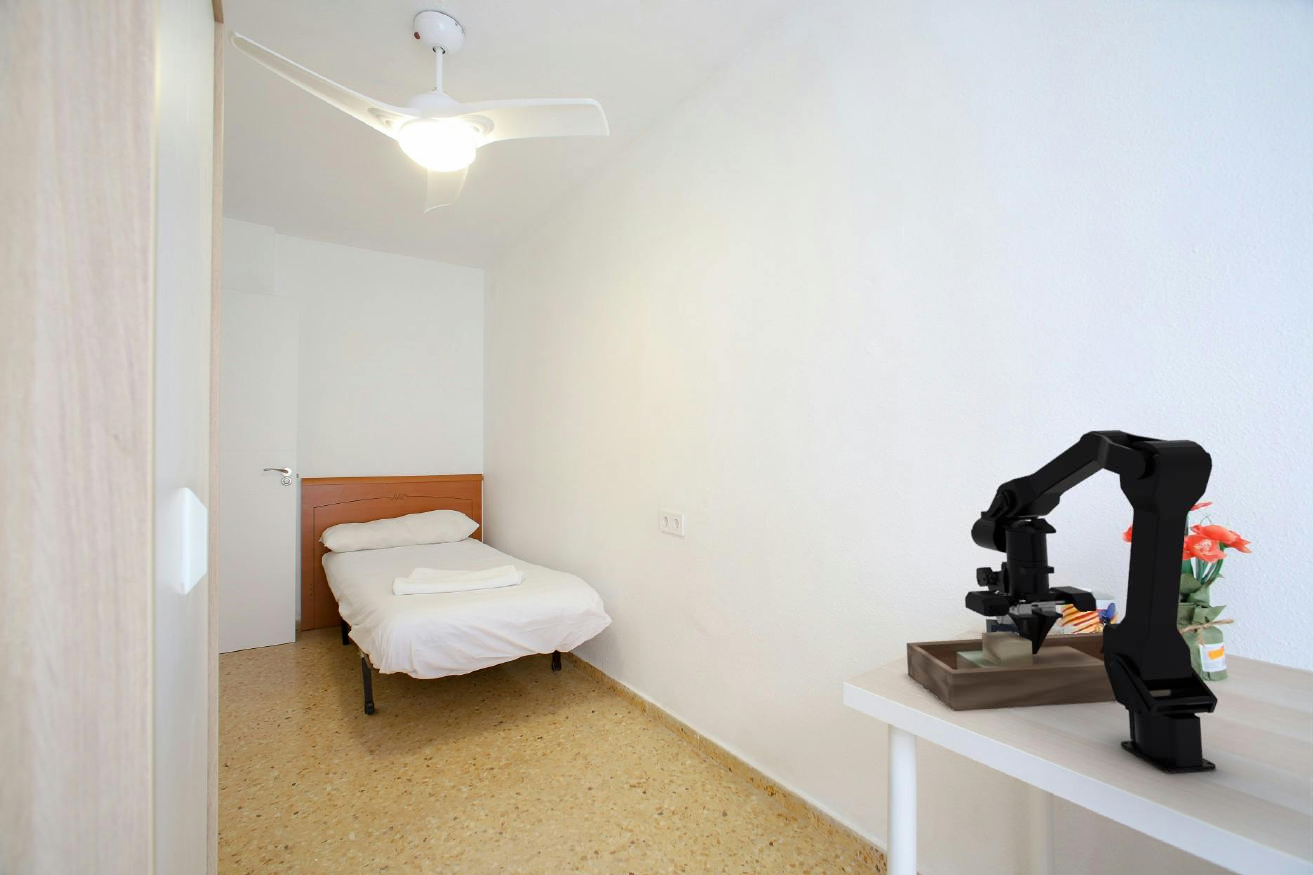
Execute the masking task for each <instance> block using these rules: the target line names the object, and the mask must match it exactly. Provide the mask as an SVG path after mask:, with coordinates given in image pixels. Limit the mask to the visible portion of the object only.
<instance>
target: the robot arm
mask: <svg viewBox="0 0 1313 875" xmlns="http://www.w3.org/2000/svg"><path fill="white" fill-rule="evenodd" d="M1212 469H1213V459H1212V456H1211V454H1210V452H1207V451H1206V450H1205V448H1204V447H1203V446H1202V445H1201V444H1199V443H1198V442H1196V441H1193V440H1189V439H1178V440H1177V439H1175V440H1174V439H1173V440H1169V439H1168V440H1167V439H1161V438H1155V437H1150V436H1149V437H1148V436H1142V435H1137V434H1133V433H1129V432H1126V431H1122V430H1120V429H1113V430H1111V429H1110V430H1109V429H1108V430H1107V429H1106V430H1090V431H1088V432H1086V433H1083V434H1082V435H1081V436H1080V438H1079V440H1078V441H1077V442H1075V443H1073V445H1071V446H1070V447H1068V448H1067V449H1065V450H1064V451H1063V452H1061V453H1060V454H1059V455H1057V456H1056V457H1054V458H1053V459H1051V460H1050V461H1049V462H1047V463H1046V464H1044V465H1043V466H1042V467H1040V468H1039V469H1038V470H1036V471H1035V472H1033V473H1030V474H1029V475H1024V476H1020V477H1016V478H1012V479H1011V480H1008V481H1005V482H1002V483H1001V484H1000V485H999V486H998V488H997V490H996V493H995V495H994V497H993V499H992V500H991V503H990V506H989V507H988V509H987V510H983V511H981V512H980V518H978V519H977V520H976V521H975V522H974V523H973V525H972V528H971V529H970V535H971V538H972V541H973V542H974V543H975V545H977V546H978V547H981V548H983V549H987V550H991V551H996V552H998V553H1004V554H1006V556H1005V557H1006V561H1001V564H1000V570H996V571H993V569H992V567H990V566H988V567H987V566H982V567H977V568H976V570H975V571H976V573H975V575H976V576H975V578H976V583H977V585H978V586H979V587H982V588H983V587H987V589H988V590H971V591H970V590H969V591H968V592H967V594H966V595H965V597H964V601H965V602H964V604H965V608H966V609H968V610H970V611H973V612H975V613H976V614H979V615H981V616H984V617H989V618H993V617H995V618H996V616H1006V615H1009V617H1010V618H1011V619H1012V620H1013V622H1014V624H1015V625H1016V627H1017V629H1018V631H1019V634H1020V636H1021V637H1023V638H1026V639H1028V640H1030V641H1032V655H1033V654H1037V653H1038V651H1039V649H1040V647H1041V645H1042V643H1043V642H1044V640H1045V638H1046V636H1047V635H1049V633H1050V631H1051V630H1052V628H1053V627H1054V625H1055V624H1056V622H1057V621H1058V619H1063V614H1062V612H1058V611H1057V606H1062V605H1070V604H1073V607H1075V608H1076V609H1077V610H1078V611H1080V612H1087V611H1096V610H1097V611H1098V606H1097V599H1096V598H1095V595H1094V594H1093V595H1092V593H1091V592H1088V591H1084V590H1081V589H1078V588H1075V587H1076V586H1072V585H1071V586H1070V585H1066V586H1064V585H1063V586H1050V576H1049V575H1050V574H1055V566H1051V565H1049V559H1048V543H1047V542H1048V541H1047V534H1049V535H1050V534H1051V535H1052V534H1056V533H1057V529H1056V528H1055V527H1054V525H1052V524H1050V523H1049V522H1048V521H1047V520H1046V518H1044V517H1045V516H1047V515H1049V514H1050V513H1051V512H1052V511H1053V510H1054V509H1055V508H1057V506H1058V505H1059V504H1060V503H1061V496H1062V495H1064V493H1066V492H1067V491H1069V490H1072V488H1074V487H1075V486H1077V485H1079V484H1080V483H1082V482H1083V481H1085V480H1087V479H1088V478H1090V477H1092V476H1093V475H1094V474H1095V475H1096V473H1098V472H1099V471H1101V470H1106V471H1107V472H1111V473H1114V474H1116V475H1118V477H1119V486H1120V491H1122V492H1123V494H1124V496H1125V498H1126V499H1127V500H1128V502H1129V504H1130V506H1131V507H1132V511H1133V514H1132V527H1131V540H1130V552H1129V563H1128V577H1127V579H1128V580H1127V588H1126V603H1125V604H1126V605H1125V614H1124V617H1123V618H1122V620H1121V621H1120V622H1119V623H1118V622H1116V623H1105V624H1104V626H1103V629H1102V632H1103V646H1102V648H1101V650H1100V653H1101V654H1104V665H1105V669H1106V671H1107V674H1108V677H1109V680H1110V683H1111V687H1112V690H1113V693H1114V696H1115V699H1116V701H1115V702H1117V703H1118V704H1120V705H1123V706H1124V709H1125V710H1126V711H1128V721H1129V722H1128V723H1129V737H1130V739H1131V740H1126V741H1125V740H1124V741H1120V746H1121V747H1122V748H1124V749H1125V750H1127V751H1128V752H1130V753H1131V754H1134V755H1135V756H1137V757H1139V758H1141V759H1142V760H1144V761H1146V762H1147V763H1149V764H1151V765H1153V766H1155V767H1156V768H1157V769H1159V770H1161V771H1162V772H1165V773H1180V772H1181V773H1182V772H1183V773H1184V772H1196V771H1210V770H1211V771H1212V770H1217V769H1216V767H1217V766H1216V764H1215V763H1214V762H1212V761H1210V760H1208V759H1206V758H1204V757H1203V744H1202V742H1203V741H1202V740H1203V739H1202V729H1201V728H1202V727H1201V717H1200V716H1198V715H1196V714H1204V713H1205V714H1206V713H1207V714H1213V713H1214V712H1215V709H1216V706H1217V705H1218V700H1219V699H1218V697H1217V696H1216V695H1215V693H1214V692H1213V691H1212V690H1211V688H1209V686H1208V684H1207V683H1206V682H1205V681H1204V680H1203V678H1202V677H1201V676H1200V675H1199V674H1198V672H1197V671H1196V670H1195V668H1194V667H1193V666H1192V665H1193V664H1192V654H1191V648H1190V646H1189V644H1188V642H1187V641H1186V639H1185V638H1184V636H1183V635H1182V633H1181V632H1180V630H1179V628H1178V615H1179V614H1178V613H1179V612H1178V611H1179V601H1180V592H1181V582H1182V581H1181V580H1182V570H1183V569H1182V568H1183V558H1184V549H1185V546H1184V545H1185V536H1186V527H1187V526H1186V525H1187V516H1188V514H1189V513H1190V512H1191V511H1192V509H1194V506H1195V505H1196V504H1197V503H1198V502H1199V501H1200V499H1201V498H1202V497H1203V496H1204V495H1205V493H1206V490H1207V488H1208V484H1209V480H1210V477H1211V473H1212ZM996 591H1000V592H1002V593H1008V594H1009V596H1001V595H999V594H996V593H994V592H996ZM1021 600H1022V601H1021ZM1019 601H1021V602H1019ZM1158 690H1170V691H1171V693H1161V694H1151V693H1150V692H1149V691H1158Z"/></svg>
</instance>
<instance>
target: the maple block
mask: <svg viewBox="0 0 1313 875" xmlns="http://www.w3.org/2000/svg"><path fill="white" fill-rule="evenodd" d="M981 639H982V645H983V657H984V658H986V659H987V660H989V661H991V662H993V663H994V664H996V665H998V666H1000V667H1006V666H1024V665H1033V658H1032V641H1030V640H1028V639H1026V638H1023V637H1021V636H1019V635H1017V634H1015V633H1013V632H992V633H987V632H982V633H981Z"/></svg>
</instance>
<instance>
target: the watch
mask: <svg viewBox="0 0 1313 875" xmlns="http://www.w3.org/2000/svg"><path fill="white" fill-rule="evenodd" d="M994 593H996V594H999V595H1001V596H1009V594H1008V593H1002V592H1000V591H996V592H994ZM1021 601H1022V600H1021ZM1021 601H1019V602H1021ZM985 624H986V633H992V632H1013V633H1015V634H1017V635H1019V636H1020V634H1019V631H1018V629H1017V627H1016V625H1015V624H1014V622H1013V620H1012V619H1011V618H1010V617H1009V615H1006V616H996V617H995V619H991V618H986V619H985Z"/></svg>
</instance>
